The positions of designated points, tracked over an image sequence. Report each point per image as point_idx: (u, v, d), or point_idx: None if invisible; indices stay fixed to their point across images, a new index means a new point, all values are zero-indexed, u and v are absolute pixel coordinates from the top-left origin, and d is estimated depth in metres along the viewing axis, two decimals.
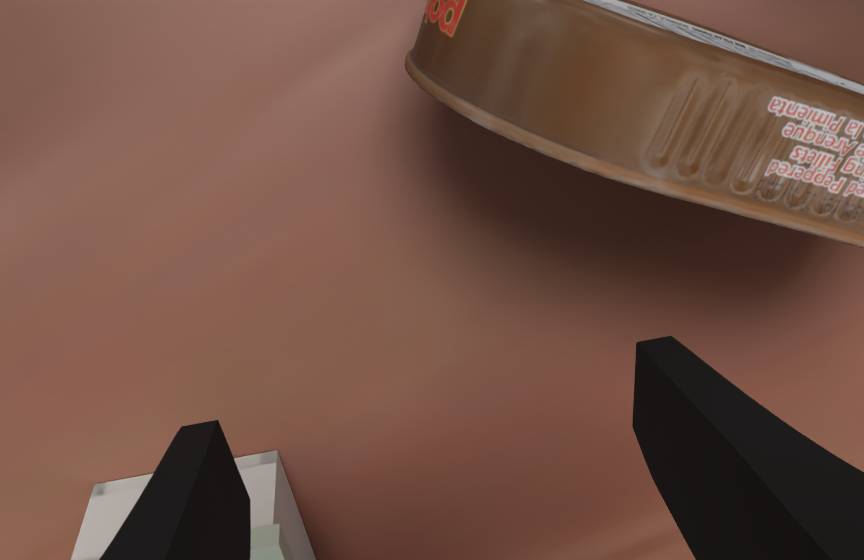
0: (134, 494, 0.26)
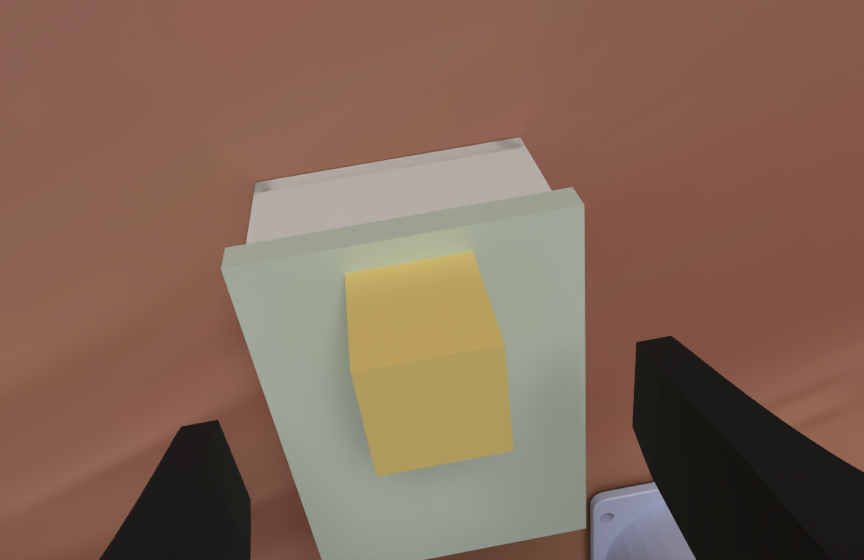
0: (320, 186, 0.17)
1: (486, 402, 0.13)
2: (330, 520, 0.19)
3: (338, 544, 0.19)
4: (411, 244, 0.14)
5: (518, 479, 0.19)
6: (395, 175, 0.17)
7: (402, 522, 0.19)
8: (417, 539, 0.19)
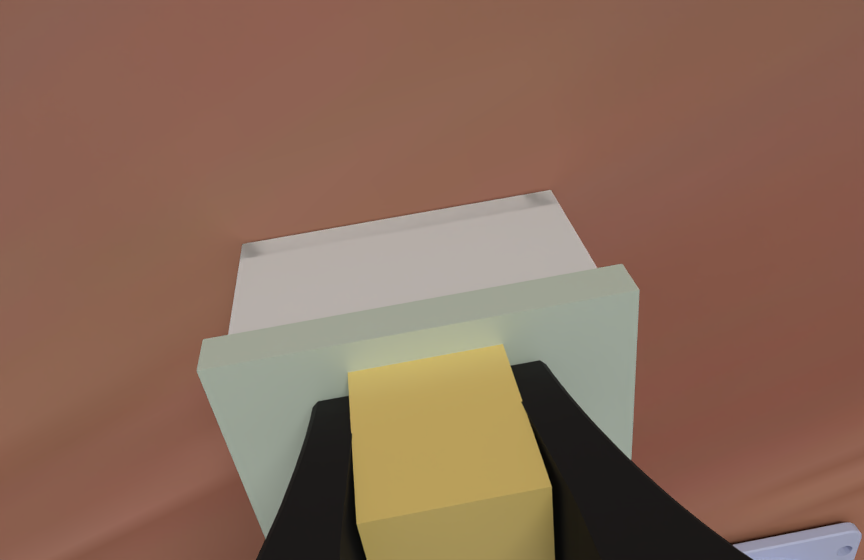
0: (318, 251, 0.15)
1: (525, 549, 0.10)
2: None
3: None
4: (429, 338, 0.12)
5: None
6: (406, 237, 0.15)
7: None
8: None
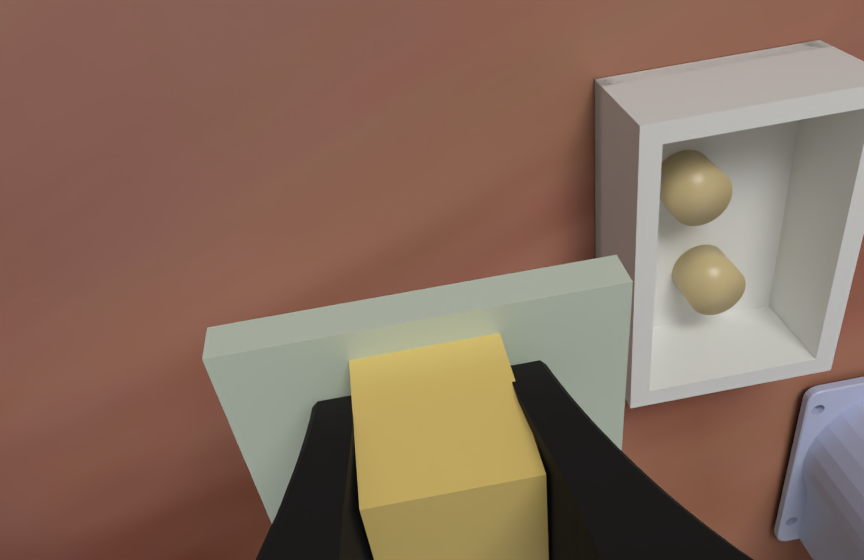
0: (660, 79, 0.20)
1: (520, 532, 0.11)
2: None
3: None
4: (428, 328, 0.12)
5: None
6: (725, 68, 0.20)
7: None
8: None
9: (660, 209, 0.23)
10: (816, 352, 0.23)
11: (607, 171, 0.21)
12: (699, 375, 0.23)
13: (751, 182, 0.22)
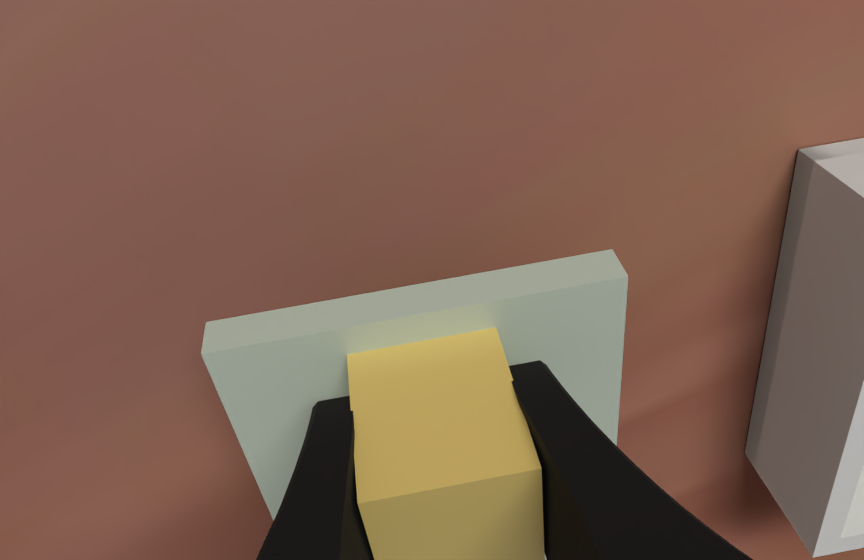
0: None
1: (516, 524, 0.11)
2: None
3: None
4: (425, 322, 0.12)
5: None
6: None
7: None
8: None
9: None
10: None
11: (809, 268, 0.16)
12: None
13: None
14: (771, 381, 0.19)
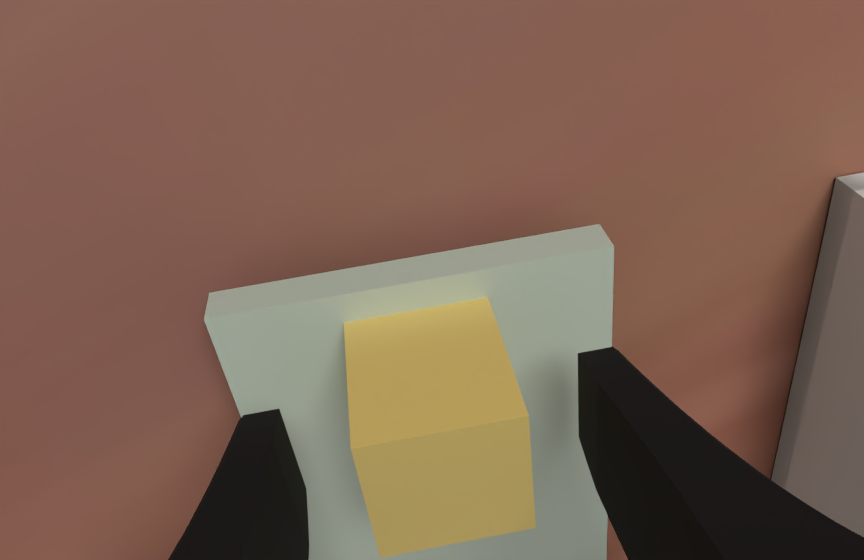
0: None
1: (506, 477, 0.11)
2: None
3: None
4: (419, 290, 0.13)
5: (533, 535, 0.17)
6: None
7: None
8: None
9: None
10: None
11: (847, 304, 0.15)
12: None
13: None
14: (800, 420, 0.18)
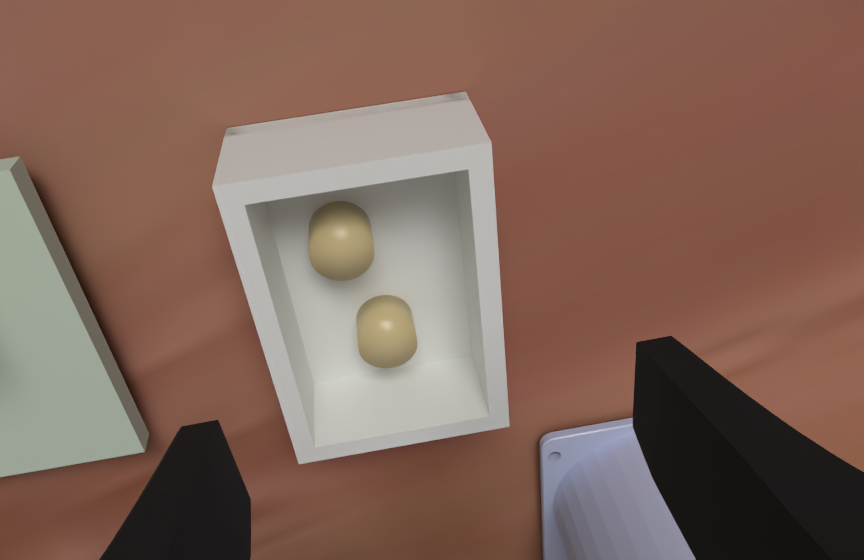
0: (284, 131, 0.19)
1: None
2: None
3: None
4: None
5: (59, 405, 0.22)
6: (351, 121, 0.19)
7: None
8: None
9: None
10: (488, 409, 0.22)
11: None
12: (370, 431, 0.22)
13: (418, 234, 0.22)
14: None
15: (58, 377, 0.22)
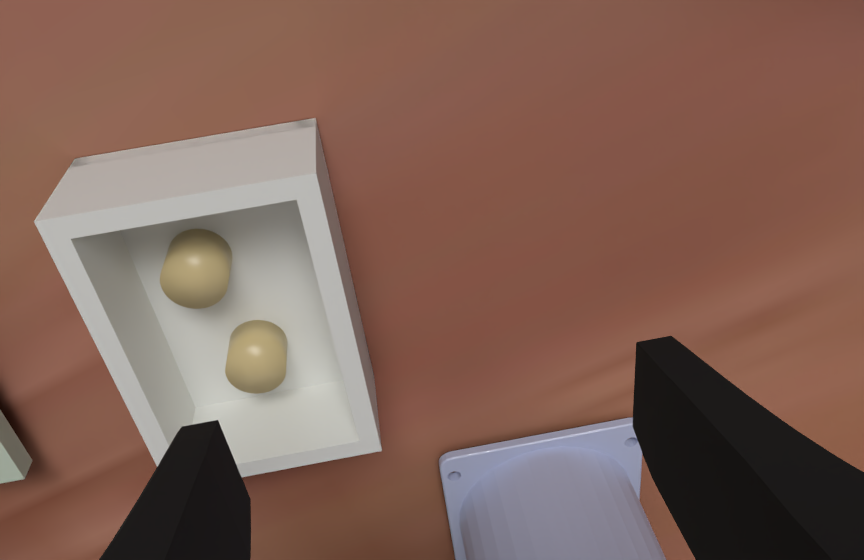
0: (127, 161, 0.19)
1: None
2: None
3: None
4: None
5: None
6: (194, 151, 0.19)
7: None
8: None
9: None
10: (357, 433, 0.22)
11: None
12: (240, 457, 0.22)
13: (282, 259, 0.22)
14: None
15: None
